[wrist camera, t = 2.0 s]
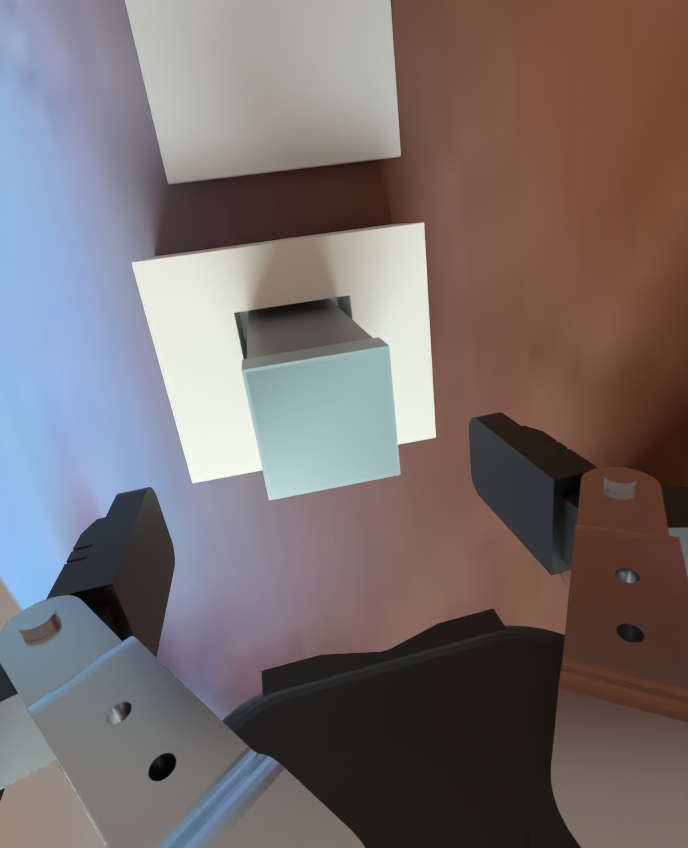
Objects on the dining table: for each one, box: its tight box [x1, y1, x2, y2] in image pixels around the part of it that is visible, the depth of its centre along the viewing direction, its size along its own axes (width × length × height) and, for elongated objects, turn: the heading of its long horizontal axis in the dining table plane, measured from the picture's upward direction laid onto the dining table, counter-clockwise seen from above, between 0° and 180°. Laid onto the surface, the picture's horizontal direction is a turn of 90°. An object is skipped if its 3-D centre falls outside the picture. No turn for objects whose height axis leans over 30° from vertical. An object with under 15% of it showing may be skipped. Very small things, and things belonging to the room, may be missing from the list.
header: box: [131, 223, 436, 483], centre depth 24 cm, size 12×10×5 cm
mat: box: [125, 0, 401, 185], centre depth 22 cm, size 11×8×1 cm
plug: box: [242, 298, 400, 500], centre depth 20 cm, size 4×4×12 cm
